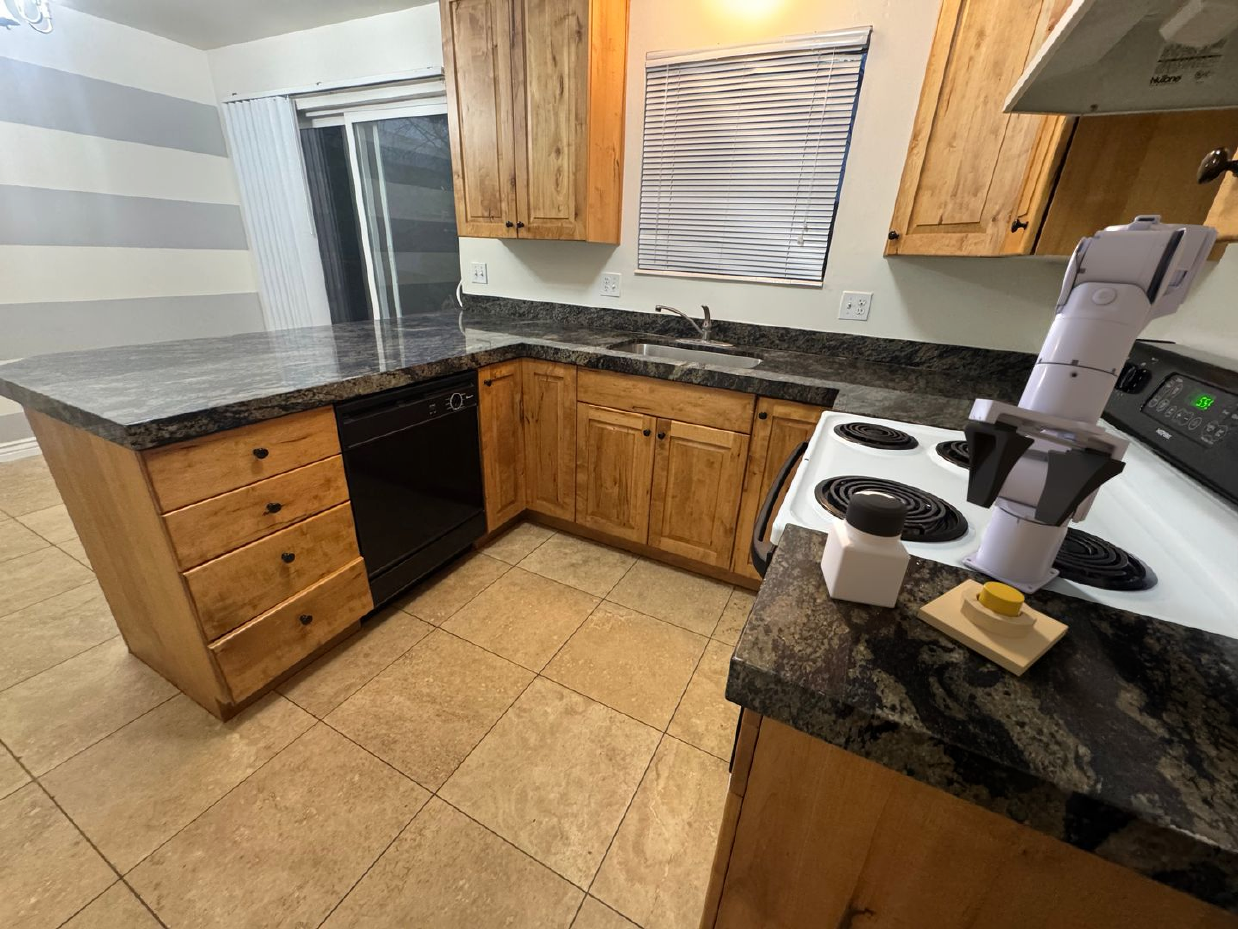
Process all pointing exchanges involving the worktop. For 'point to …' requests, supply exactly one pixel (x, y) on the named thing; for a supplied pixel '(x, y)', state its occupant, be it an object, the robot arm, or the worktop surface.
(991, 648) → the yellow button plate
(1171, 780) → the worktop surface
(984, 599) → the button
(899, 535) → the medicine bottle
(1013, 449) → the robot arm
